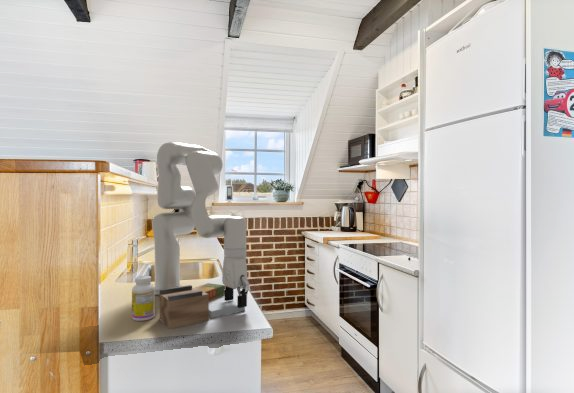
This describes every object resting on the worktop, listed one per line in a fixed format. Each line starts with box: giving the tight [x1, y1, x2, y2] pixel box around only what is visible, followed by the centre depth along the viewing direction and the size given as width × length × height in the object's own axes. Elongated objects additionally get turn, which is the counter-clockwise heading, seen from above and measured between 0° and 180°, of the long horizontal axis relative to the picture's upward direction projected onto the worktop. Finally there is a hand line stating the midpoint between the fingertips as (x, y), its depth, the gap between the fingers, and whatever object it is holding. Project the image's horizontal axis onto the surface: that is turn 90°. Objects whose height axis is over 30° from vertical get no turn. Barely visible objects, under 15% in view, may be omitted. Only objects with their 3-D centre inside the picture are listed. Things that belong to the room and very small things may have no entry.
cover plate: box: [209, 299, 246, 319], centre depth 118 cm, size 6×12×2 cm, turn 127°
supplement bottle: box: [131, 275, 156, 322], centre depth 112 cm, size 7×7×13 cm
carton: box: [195, 282, 225, 302], centre depth 133 cm, size 8×16×4 cm, turn 155°
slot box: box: [159, 284, 210, 330], centre depth 110 cm, size 10×12×9 cm
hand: (235, 303), depth 120 cm, fingers open, 9 cm apart
